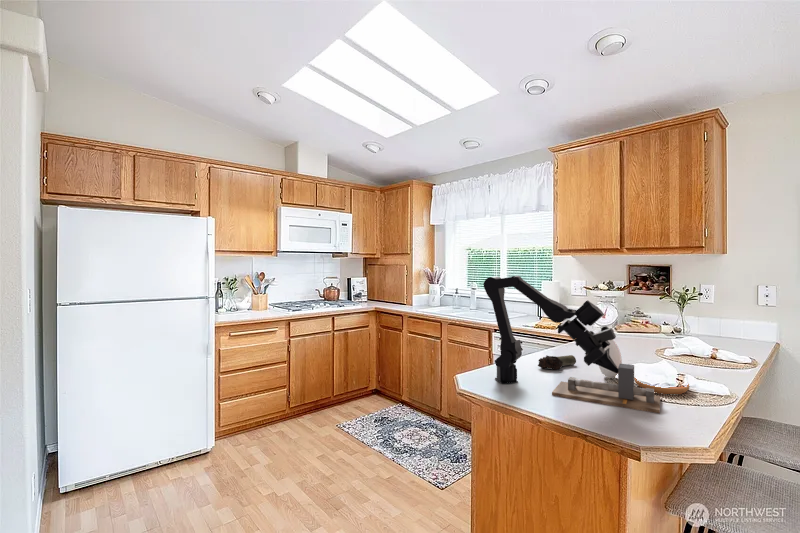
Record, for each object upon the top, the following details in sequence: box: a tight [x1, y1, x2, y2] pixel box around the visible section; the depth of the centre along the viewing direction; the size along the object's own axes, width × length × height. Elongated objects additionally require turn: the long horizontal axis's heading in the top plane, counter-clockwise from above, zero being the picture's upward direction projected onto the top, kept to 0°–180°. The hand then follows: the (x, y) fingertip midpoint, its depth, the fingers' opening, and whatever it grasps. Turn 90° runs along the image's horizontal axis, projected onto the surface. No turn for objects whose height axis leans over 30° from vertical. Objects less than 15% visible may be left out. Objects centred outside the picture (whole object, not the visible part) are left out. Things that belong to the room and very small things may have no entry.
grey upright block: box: [617, 363, 635, 400], centre depth 125 cm, size 4×6×10 cm
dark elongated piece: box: [537, 354, 577, 371], centre depth 165 cm, size 18×7×6 cm, turn 114°
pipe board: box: [551, 376, 661, 414], centre depth 129 cm, size 30×14×5 cm, turn 56°
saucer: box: [634, 377, 690, 395], centre depth 137 cm, size 16×16×3 cm
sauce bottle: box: [598, 339, 623, 379], centre depth 150 cm, size 8×8×18 cm
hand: (618, 372), depth 126 cm, fingers closed
